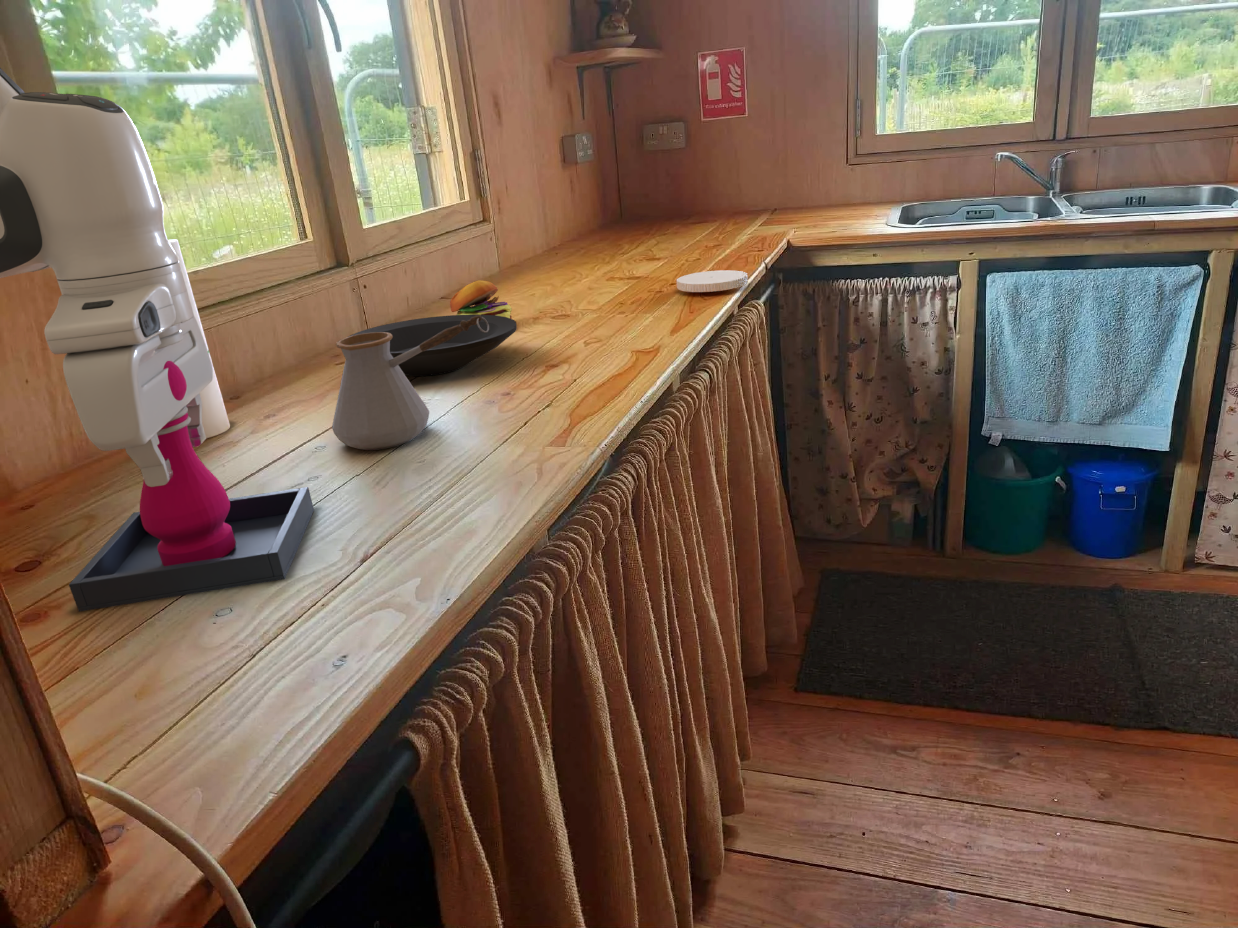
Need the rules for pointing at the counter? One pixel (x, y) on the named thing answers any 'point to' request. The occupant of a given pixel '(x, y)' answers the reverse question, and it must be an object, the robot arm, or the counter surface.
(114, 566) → the tray
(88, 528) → the counter surface
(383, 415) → the coffee pot
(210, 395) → the cylindrical container
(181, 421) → the pepper mill
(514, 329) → the black bowl
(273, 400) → the counter surface
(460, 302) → the cheeseburger
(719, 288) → the plastic lid
